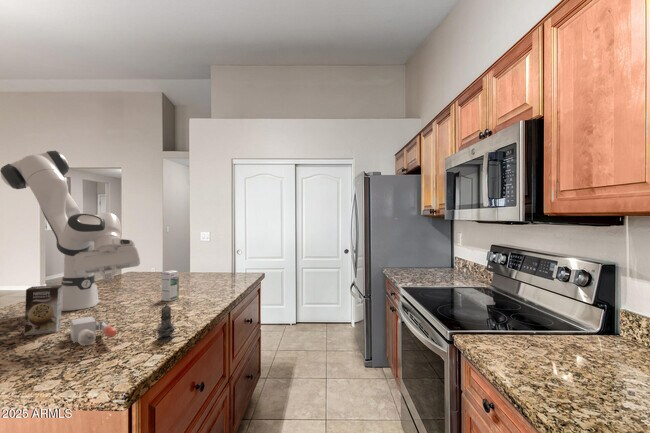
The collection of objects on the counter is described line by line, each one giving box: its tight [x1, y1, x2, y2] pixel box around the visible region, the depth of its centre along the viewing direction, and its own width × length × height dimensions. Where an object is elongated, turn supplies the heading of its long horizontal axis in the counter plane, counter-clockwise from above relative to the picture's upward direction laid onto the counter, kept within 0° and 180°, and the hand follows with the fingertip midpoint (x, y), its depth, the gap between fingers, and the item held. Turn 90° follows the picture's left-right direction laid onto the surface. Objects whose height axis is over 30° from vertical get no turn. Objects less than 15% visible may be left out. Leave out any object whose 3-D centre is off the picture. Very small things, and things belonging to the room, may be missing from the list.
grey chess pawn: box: [156, 303, 176, 342], centre depth 111 cm, size 6×6×12 cm
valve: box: [70, 316, 100, 347], centre depth 111 cm, size 18×7×6 cm, turn 44°
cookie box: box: [23, 284, 62, 336], centre depth 117 cm, size 9×6×16 cm
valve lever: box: [98, 320, 118, 338], centre depth 109 cm, size 3×3×18 cm
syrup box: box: [161, 269, 180, 302], centre depth 164 cm, size 6×6×14 cm
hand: (108, 279), depth 114 cm, fingers closed
